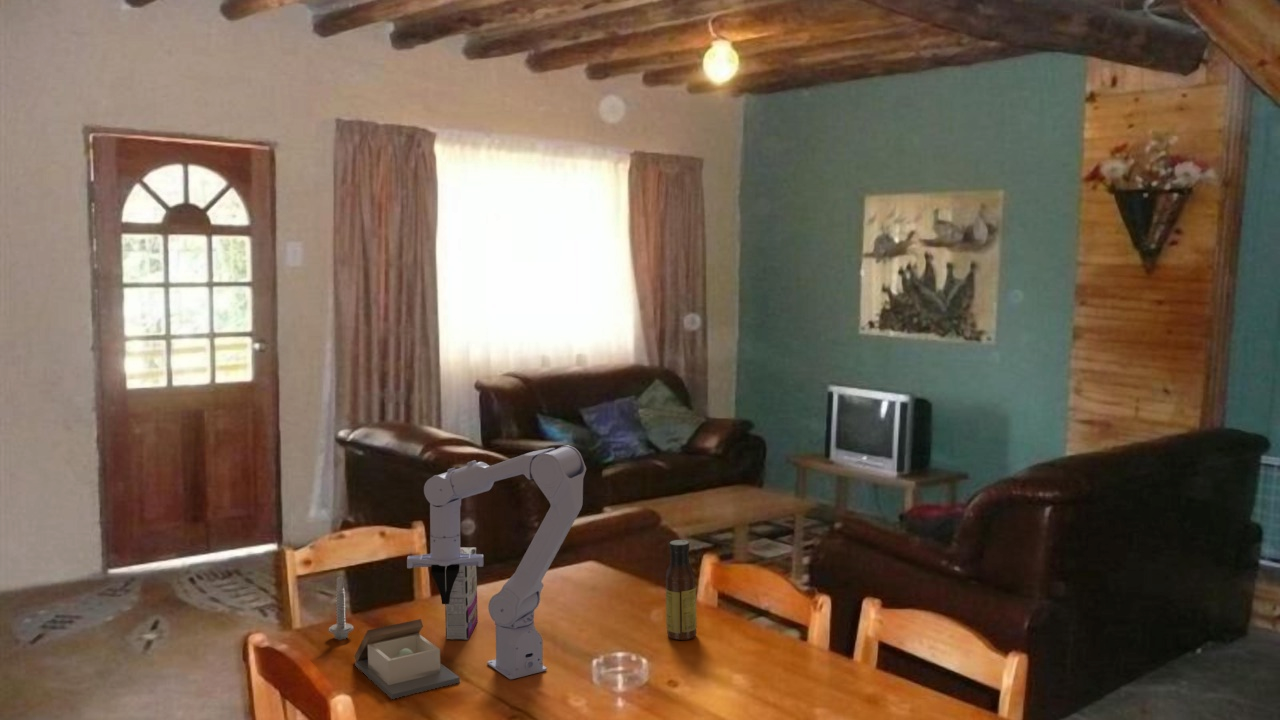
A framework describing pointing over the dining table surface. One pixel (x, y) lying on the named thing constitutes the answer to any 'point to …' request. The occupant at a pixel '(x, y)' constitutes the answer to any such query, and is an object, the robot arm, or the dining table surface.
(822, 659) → the dining table surface
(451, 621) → the candy bar box
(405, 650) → the ball
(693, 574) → the sauce bottle
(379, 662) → the open grey box
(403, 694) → the board
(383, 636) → the lid
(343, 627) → the screw
